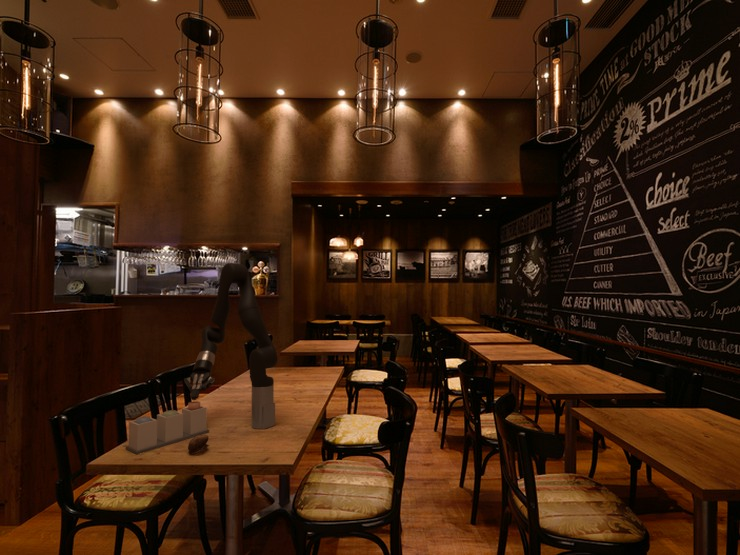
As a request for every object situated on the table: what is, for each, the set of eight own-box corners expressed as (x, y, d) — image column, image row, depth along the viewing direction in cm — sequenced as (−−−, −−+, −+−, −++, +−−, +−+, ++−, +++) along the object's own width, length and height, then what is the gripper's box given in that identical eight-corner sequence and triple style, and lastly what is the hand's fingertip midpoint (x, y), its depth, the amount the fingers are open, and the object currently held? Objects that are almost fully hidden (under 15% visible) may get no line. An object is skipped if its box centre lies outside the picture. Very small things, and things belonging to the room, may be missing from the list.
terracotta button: (202, 409, 163) (202, 402, 163) (192, 412, 159) (192, 404, 159) (196, 408, 166) (196, 400, 166) (185, 410, 162) (185, 403, 162)
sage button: (178, 419, 155) (178, 411, 155) (167, 422, 151) (167, 414, 151) (172, 417, 158) (172, 409, 158) (161, 420, 154) (161, 412, 154)
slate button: (152, 426, 147) (152, 417, 147) (139, 429, 143) (139, 421, 143) (146, 423, 149) (146, 415, 150) (133, 427, 146) (133, 418, 146)
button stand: (209, 432, 163) (209, 407, 163) (136, 454, 140) (137, 425, 140) (197, 428, 168) (197, 404, 168) (125, 449, 145) (126, 421, 146)
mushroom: (217, 438, 147) (206, 426, 145) (210, 454, 139) (198, 442, 137) (200, 447, 148) (189, 435, 146) (191, 463, 140) (180, 452, 138)
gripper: (186, 358, 172) (174, 394, 159) (218, 358, 173) (208, 393, 160) (191, 369, 177) (179, 404, 164) (221, 368, 178) (212, 403, 165)
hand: (193, 399), depth 162 cm, fingers closed
